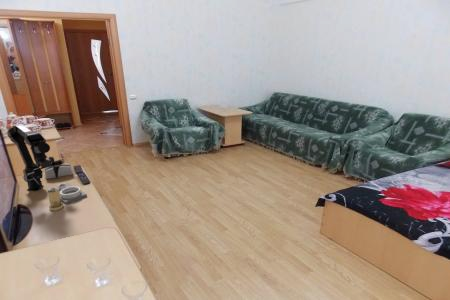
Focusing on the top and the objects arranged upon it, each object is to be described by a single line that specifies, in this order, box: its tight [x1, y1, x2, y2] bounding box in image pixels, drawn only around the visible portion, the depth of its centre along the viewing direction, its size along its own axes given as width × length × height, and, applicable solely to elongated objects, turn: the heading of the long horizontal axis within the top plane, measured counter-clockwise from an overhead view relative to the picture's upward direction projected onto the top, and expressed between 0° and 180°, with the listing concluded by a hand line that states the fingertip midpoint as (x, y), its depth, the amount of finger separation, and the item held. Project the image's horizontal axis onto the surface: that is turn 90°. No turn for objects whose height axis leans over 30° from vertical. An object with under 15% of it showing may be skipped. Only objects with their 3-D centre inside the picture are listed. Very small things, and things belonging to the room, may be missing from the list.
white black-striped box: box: [44, 163, 74, 180], centre depth 191 cm, size 17×5×10 cm, turn 122°
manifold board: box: [47, 182, 88, 205], centre depth 168 cm, size 23×12×5 cm, turn 53°
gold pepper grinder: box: [47, 187, 64, 212], centre depth 152 cm, size 7×7×12 cm
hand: (48, 181), depth 159 cm, fingers open, 9 cm apart
